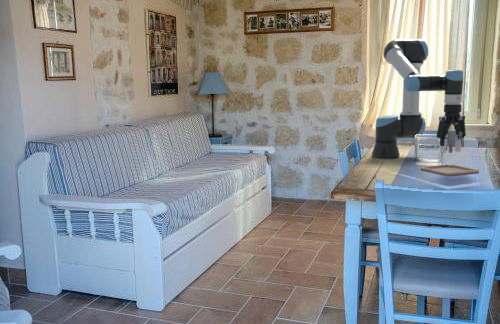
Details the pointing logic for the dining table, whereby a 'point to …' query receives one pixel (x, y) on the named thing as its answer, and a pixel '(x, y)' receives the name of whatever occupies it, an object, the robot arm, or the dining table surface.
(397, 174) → the dining table surface
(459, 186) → the dining table surface
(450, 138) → the mechanical component
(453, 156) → the dining table surface
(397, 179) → the dining table surface
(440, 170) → the wooden square frame
